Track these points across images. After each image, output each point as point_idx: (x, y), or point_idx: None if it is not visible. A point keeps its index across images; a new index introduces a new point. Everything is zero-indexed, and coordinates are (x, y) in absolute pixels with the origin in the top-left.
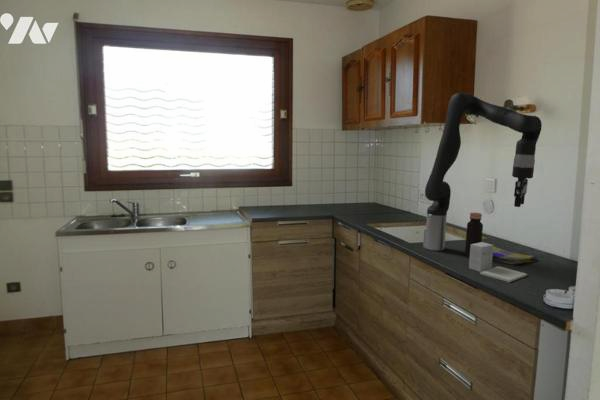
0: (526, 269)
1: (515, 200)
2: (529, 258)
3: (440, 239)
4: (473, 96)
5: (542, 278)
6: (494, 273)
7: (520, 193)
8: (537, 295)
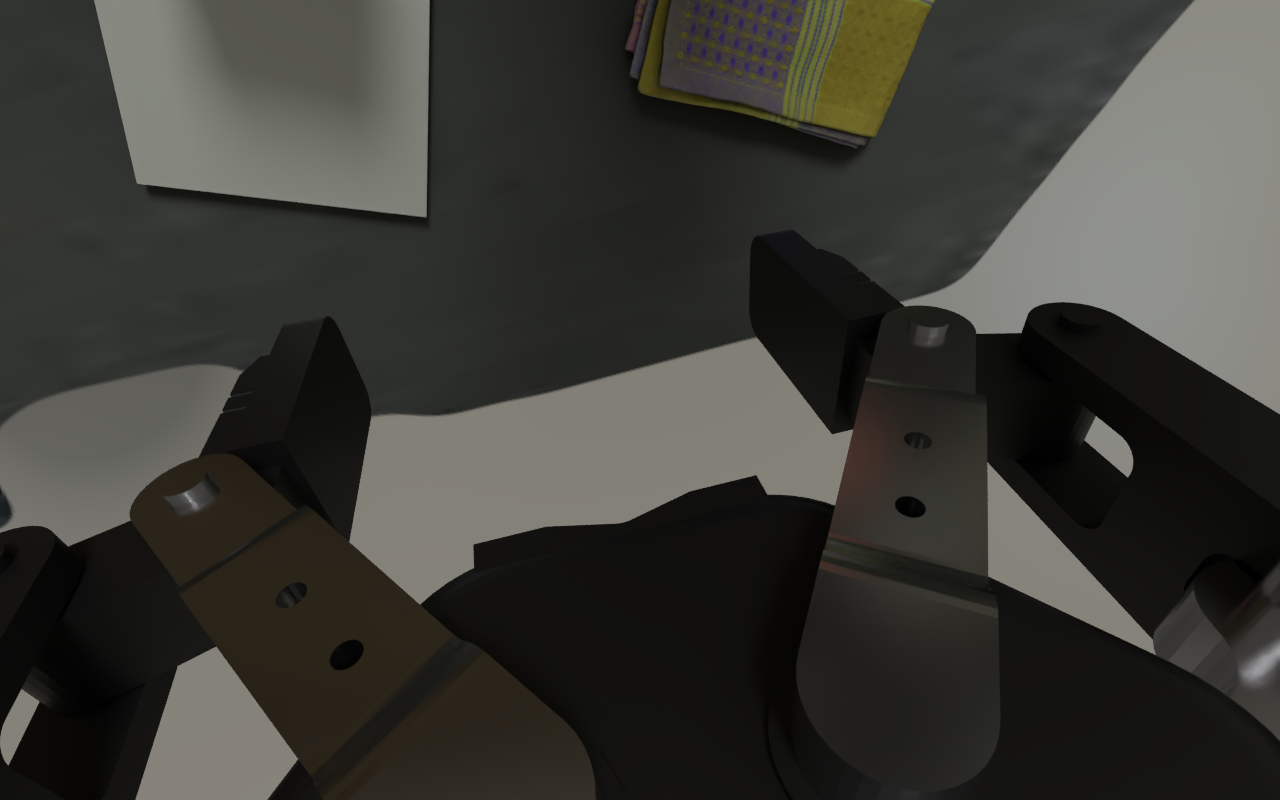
0: (578, 162)
1: (256, 411)
2: (788, 123)
3: None
4: None
5: (455, 294)
6: (182, 24)
7: (30, 754)
8: (85, 379)
